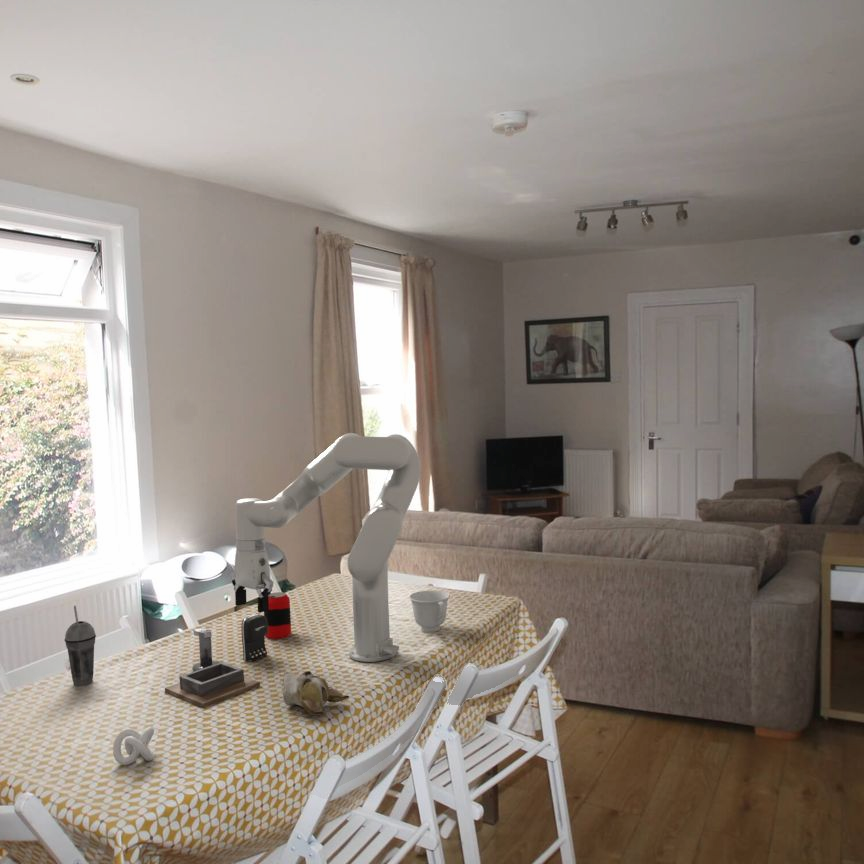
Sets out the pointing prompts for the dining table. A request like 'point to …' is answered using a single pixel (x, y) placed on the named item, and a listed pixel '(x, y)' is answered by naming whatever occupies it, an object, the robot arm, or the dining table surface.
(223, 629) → the dining table surface
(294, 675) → the ceramic sculpture
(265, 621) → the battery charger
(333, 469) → the robot arm
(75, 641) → the beverage cup
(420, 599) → the teacup
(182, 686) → the holder
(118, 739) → the knot
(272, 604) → the soda can
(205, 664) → the post
